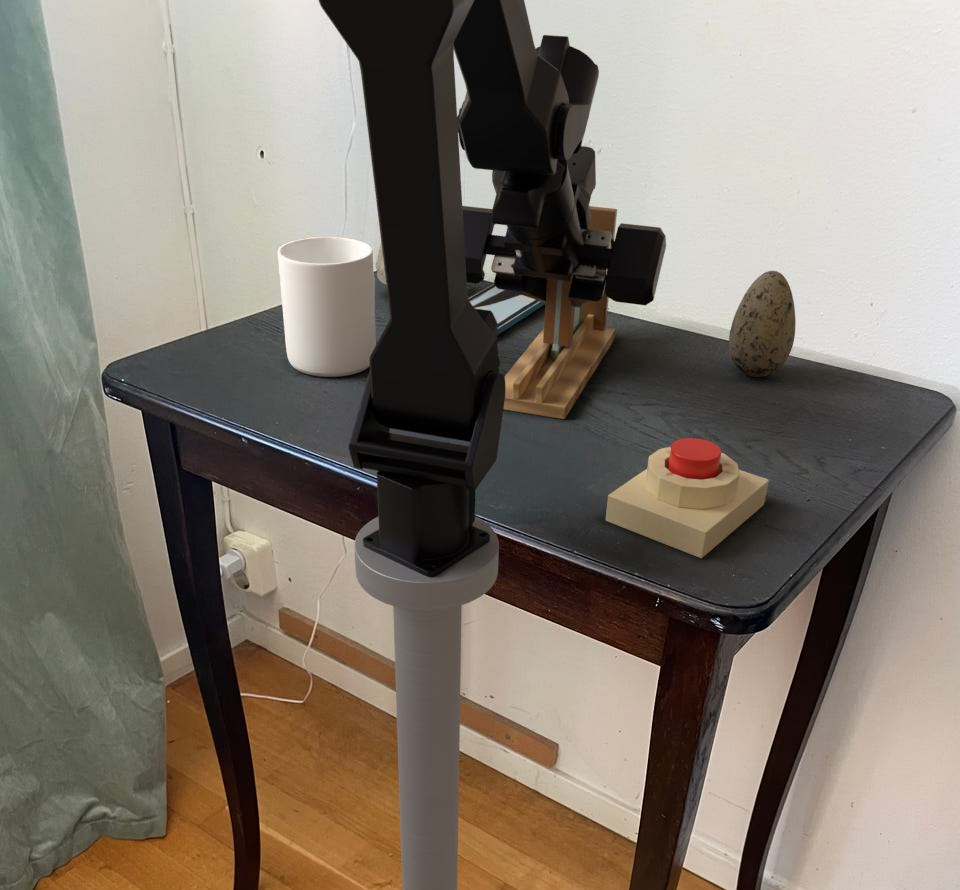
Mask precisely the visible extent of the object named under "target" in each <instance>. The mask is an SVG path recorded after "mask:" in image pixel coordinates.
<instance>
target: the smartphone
mask: <svg viewBox="0 0 960 890" xmlns="http://www.w3.org/2000/svg"><path fill="white" fill-rule="evenodd" d="M468 300H469V302H470V303H471V304H472V306H473V307H474V308H475V309H482V310H490V311H492V313H493V315H494V317H495V319H496V321H497V323H498V335H500V334H501V333H503V332H504V331H506V330H508V329H509V328H511V327H512V326H514V325H516V324H518V322H520V321H522V320H523V319H525V318H527V317H528V316H529V315H531V314H532V313H534V312H536V311H537V310H539V309H540V308H542V307H543V306H545V303H544V302H541V301H538V300H535V299H533V298H530V297H527V296H524V295H520V294H517V293H514V292H510V291H507V290H502V289H498V288H497V287H496V286H495V284H494V283H493V284H491V285H488V286H487V287H485V288H484V289H482V290H480V291H479V292H476V293H474V294H473V295H471V296H470V297H468Z"/></svg>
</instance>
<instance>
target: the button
mask: <svg viewBox="0 0 960 890" xmlns="http://www.w3.org/2000/svg"><path fill="white" fill-rule="evenodd" d="M670 447H671V450H670V457H669V464H668V470H669V471H670V472H672V473H673V474H676V475H678V476H681V477H684V478H687V479H699V480H704V479H709V478H715V477H716V476H717V474H718V469H719V463H720V458H721V453H722V450H721V448H720V446H718V445H717V444H715V443H714V442H713V441H709V440H706V439H702V438H695V437H687V438H681V439H678V440H677V439H676V440H675V441H673V442H672V443H671V445H670Z"/></svg>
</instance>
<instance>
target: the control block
mask: <svg viewBox="0 0 960 890" xmlns="http://www.w3.org/2000/svg"><path fill="white" fill-rule="evenodd" d="M670 450H671V446H668V447H667V446H666V447H662V448H659V449H658V450H656V451H654V452H653V453H652V454H649V456H648V459H647V468H645V469H644V470H643V471H641V472H640V473H638V474H637V475H635V476H634V477H632V478H631V479H629V480H628V481H626V482H625V483H624V484H623V485H620V486H619V487H617V488H616V489H615V490H614V491H612V492H611V493H609V494H608V495H607V503H606V511H605V512H606V513H605V522H608V523H610V524H612V525H615V526H618V527H619V528H622V529H626V530H628V531H630V532H633V533H636V534H637V535H641V536H643V537H646V538H648V539H650V540H653V541H656V542H658V543H660V544H664V545H666V546H668V547H670V548H674V549H676V550H679V551H681V552H684V553H686V554H688V555H691V556H694V557H697V558H699V559H703V558H704V557H705V556H707V555H708V554H709V553H710V552H711V551H712V550H714V549H715V547H717V546H718V545H719V544H720V543H722V542H723V541H724V540H725V539H726V538H727V537H728V536H730V535H731V534H733V532H734V531H735V530H736V529H738V528H739V527H740V526H741V525H742V524H744V523H745V522H746V521H747V520H748V519H749V518H750V517H752V515H754V514H755V513H757V512H758V511H759V510H760V509H761V508H762V507H763V506H764V505H765V503H766V497H767V492H768V487H769V483H770V479H769V478H765V477H762V476H759V475H757V474H753V473H750V472H747V471H744V470H741V469H740V468H739V464H738V463H737V462H736V461H735V460H734V459H733V458H731V457H729V456H728V455H727V454H726V453H723V452H721V458H720V463H719V469H718V474H717V476H716V477H715V478H709V479H704V480H699V479H687V478H684V477H681V476H678V475H676V474H673V473H672V472H670V471H669V470H668V464H669V457H670Z"/></svg>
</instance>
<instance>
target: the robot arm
mask: <svg viewBox="0 0 960 890" xmlns="http://www.w3.org/2000/svg"><path fill="white" fill-rule="evenodd" d="M318 3H319V6H320V8H321V9H322V10H323V12H324V13H325V15H326V17H327V18H328V19H329V20H330V22H331V24H332V25H333V27H335V29H336V30H337V32H338V34H339V35H340V36H341V38H342V39H343V40H344V42H345V44H346V45H347V47H348V48H349V49H350V50H351V52H352V53H353V55H354V56H355V58H356V59H357V61H358V65H359V70H360V76H361V84H362V93H363V101H364V109H365V117H366V119H365V120H366V126H367V127H366V128H367V135H368V142H369V151H370V159H371V168H372V169H371V170H372V177H373V185H374V193H375V201H376V208H377V209H376V211H377V217H378V226H379V234H380V244H382V252H383V260H384V269H385V277H386V285H385V286H386V288H387V290H386V294H387V303H388V311H389V321H387V324H386V326H385V327H384V330H383V331H382V333H381V335H380V337H379V339H378V341H377V342H376V346H375V348H374V350H373V352H372V354H371V355H370V360H369V362H370V366H369V370H368V371H369V372H368V375H367V377H366V378H365V379H366V380H365V384H364V388H363V393H362V396H361V400H360V403H359V407H358V411H357V414H356V418H355V421H354V425H353V429H352V432H351V436H350V439H349V442H348V452H349V454H350V459H351V463H352V465H353V468H354V469H358V470H363V469H365V470H371V471H376V489H377V491H376V493H377V515H378V516H377V517H378V519H379V529H378V530H376V531H375V532H373V533H371V534H369V535H368V536H366V537H364V538H363V546H364V547H365V548H367V549H369V550H372V551H374V552H376V553H378V554H380V555H382V556H384V557H386V558H388V559H390V560H393V561H395V562H397V563H399V564H401V565H403V566H405V567H407V568H409V569H411V570H414V571H416V572H418V573H420V574H422V575H424V576H426V577H436V576H438V575H439V574H441V573H442V572H444V571H445V570H447V569H448V568H450V567H451V566H453V565H454V564H456V563H458V562H459V561H461V560H462V559H464V558H465V557H467V556H468V555H470V554H471V553H473V552H474V551H476V550H477V549H479V548H480V547H482V546H484V545H485V544H487V543H488V542H489V541H490V534H489V533H488V532H486V531H484V530H481V529H479V528H477V527H474V526H473V523H474V521H475V517H476V490H477V489H478V487H479V486H480V485H481V483H482V482H483V480H484V479H485V477H486V476H487V474H488V472H489V471H490V470H491V469H492V467H493V466H494V464H495V463H496V462H497V458H498V452H499V444H500V437H501V428H502V424H503V423H502V422H503V415H504V409H503V408H504V401H505V389H506V386H505V378H504V377H505V374H503V373H502V372H500V366H501V361H500V357H499V349H498V336H499V334H498V323H497V321H496V319H495V317H494V315H493V313H492V311H490V310H482V309H475V308H474V307H473V306H472V304H471V303H470V302H469V300H468V298H469V295H468V284H474V285H475V284H476V285H477V284H479V283H481V282H483V281H484V280H485V276H486V273H485V271H484V266H485V263H486V258H487V255H489V256H493V260H492V264H491V268H490V269H491V272H492V273H494V274H495V276H494V281H493V284H495V286H496V287H497V288H498V289H502V290H507V291H510V292H514V293H517V294H520V295H524V296H527V297H530V298H533V299H535V300H538V301H541V302H544V303H546V286H547V278H548V279H556V280H564V281H570V278H571V275H573V278H572V282H571V286H570V291H569V295H568V298H569V299H570V301H571V303H572V305H574V306H575V307H580V306H581V305H582V304H583V303H586V302H589V301H595V302H597V301H599V300H601V299H602V297H603V294H604V290H605V293H606V296H607V297H608V298H609V299H610V300H612V301H614V302H616V303H623V304H631V305H639V306H647V305H649V304H650V303H652V302H653V301H654V300H655V296H656V293H657V287H658V284H659V283H658V282H659V278H660V275H661V274H660V273H661V269H662V266H663V261H664V257H665V253H666V248H667V238H666V237H667V236H666V234H665V233H664V231H663V229H662V228H661V227H659V226H651V225H650V226H649V225H643V224H641V225H640V224H632V223H622V222H621V223H619V225H618V226H617V230H616V232H615V237H614V240H613V239H612V238H611V237H612V234H611V232H609V231H601V230H592V229H588V228H589V224H590V220H591V213H590V208H589V206H590V202H591V198H592V194H593V192H594V190H595V189H596V185H597V171H596V169H597V168H596V151H595V150H594V148H592V147H590V146H585V145H582V144H583V141H584V138H585V137H584V136H585V133H586V130H587V126H588V121H589V118H590V114H591V109H592V105H593V101H594V96H595V93H596V89H597V85H598V81H599V78H600V77H599V76H600V70H599V66H598V64H596V63H595V62H594V60H593V59H592V58H590V56H589V55H587V54H586V53H585V52H583V51H582V50H580V49H579V48H576V47H574V46H571V45H570V40H569V36H567V35H549V34H544V35H542V37H541V42H540V45H539V46H538V47H536V46H535V41H534V37H533V34H532V29H531V24H530V19H529V15H528V10H527V6H526V2H525V0H318ZM455 57H456V61H457V64H458V65H459V66H458V67H459V70H460V72H461V75H462V78H463V81H464V85H465V89H466V93H465V97H464V100H463V102H462V104H461V107H459V110H458V107H457V106H458V105H457V90H456V89H457V88H456V73H455V70H456V69H455ZM460 148H461V149H462V151H464V153H465V156H466V159H467V161H468V163H469V164H470V166H471V168H473V169H474V170H475V169H476V170H485V171H492V172H491V181H492V186H493V189H494V191H495V198H494V201H493V205H492V208H488V207H487V208H484V207H477V206H467V205H463V194H462V193H463V192H462V178H461V177H462V176H461V160H460ZM495 225H501V226H506V227H507V228H506V233H505V235H498V234H497V235H495V234H493V231H494V229H495V228H494V227H495ZM582 229H584V230H585V231H584V232H583V233H582ZM392 429H393V430H398V431H404V432H410V433H416V434H421V435H428V436H433V437H438V438H443V439H451V440H456V441H462V442H468V443H469V446H468V445H464V444H457V443H452V442H447V441H440V440H434V439H429V438H422V437H417V436H411V435H406V434H405V435H404V434H399V433H394V432H390V430H392Z"/></svg>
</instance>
